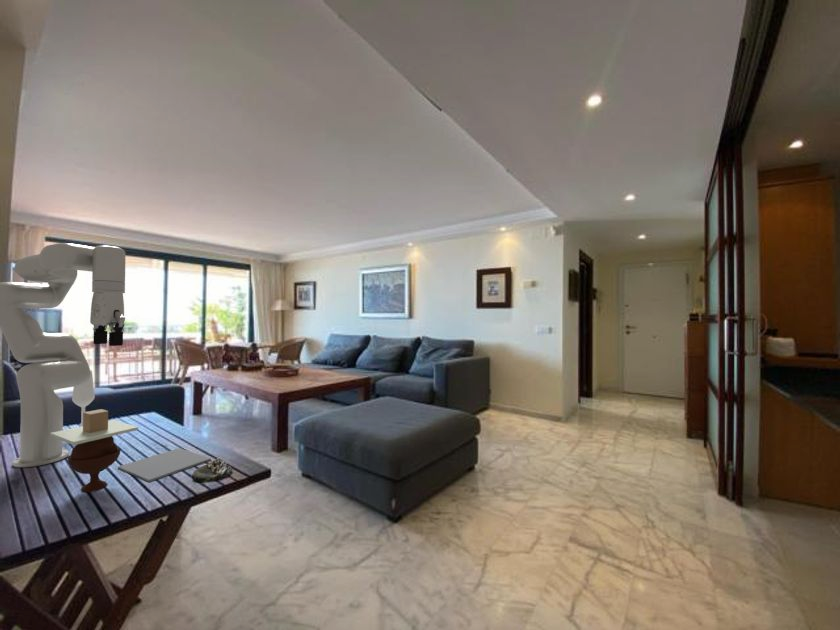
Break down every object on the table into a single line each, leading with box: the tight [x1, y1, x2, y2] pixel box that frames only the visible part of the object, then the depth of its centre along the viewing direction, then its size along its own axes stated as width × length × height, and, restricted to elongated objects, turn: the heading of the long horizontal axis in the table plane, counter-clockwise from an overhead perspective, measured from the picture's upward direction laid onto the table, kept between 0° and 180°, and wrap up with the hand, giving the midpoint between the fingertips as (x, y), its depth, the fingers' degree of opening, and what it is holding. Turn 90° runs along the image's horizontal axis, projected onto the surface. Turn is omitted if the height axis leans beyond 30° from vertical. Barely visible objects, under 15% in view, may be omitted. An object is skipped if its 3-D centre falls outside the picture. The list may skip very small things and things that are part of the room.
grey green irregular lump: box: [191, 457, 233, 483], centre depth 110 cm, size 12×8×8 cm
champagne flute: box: [71, 369, 96, 427], centre depth 146 cm, size 7×7×24 cm
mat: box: [117, 447, 212, 483], centre depth 116 cm, size 18×18×1 cm
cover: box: [50, 408, 139, 446], centre depth 100 cm, size 14×14×6 cm
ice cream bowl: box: [66, 436, 122, 493], centre depth 100 cm, size 11×11×15 cm
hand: (108, 344), depth 109 cm, fingers open, 9 cm apart
